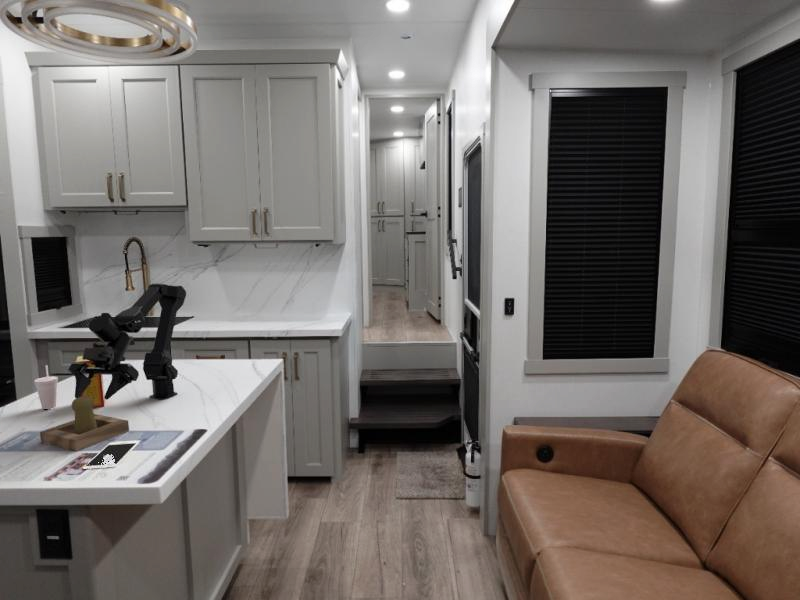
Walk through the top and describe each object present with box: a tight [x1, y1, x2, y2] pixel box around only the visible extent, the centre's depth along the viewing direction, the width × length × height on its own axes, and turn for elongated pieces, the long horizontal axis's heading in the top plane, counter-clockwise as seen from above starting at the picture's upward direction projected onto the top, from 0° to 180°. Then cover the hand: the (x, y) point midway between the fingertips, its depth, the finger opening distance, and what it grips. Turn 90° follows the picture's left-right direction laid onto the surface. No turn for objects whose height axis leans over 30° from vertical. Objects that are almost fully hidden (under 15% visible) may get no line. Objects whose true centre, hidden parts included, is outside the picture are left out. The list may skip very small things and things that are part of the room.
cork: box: [71, 396, 97, 435], centre depth 141 cm, size 6×6×11 cm
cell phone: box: [82, 440, 141, 469], centre depth 130 cm, size 8×16×1 cm, turn 7°
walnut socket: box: [39, 413, 130, 452], centre depth 142 cm, size 15×15×3 cm
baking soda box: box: [75, 355, 106, 409], centre depth 168 cm, size 10×6×16 cm
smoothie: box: [33, 364, 59, 410], centre depth 166 cm, size 6×6×14 cm
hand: (91, 398), depth 144 cm, fingers open, 9 cm apart
